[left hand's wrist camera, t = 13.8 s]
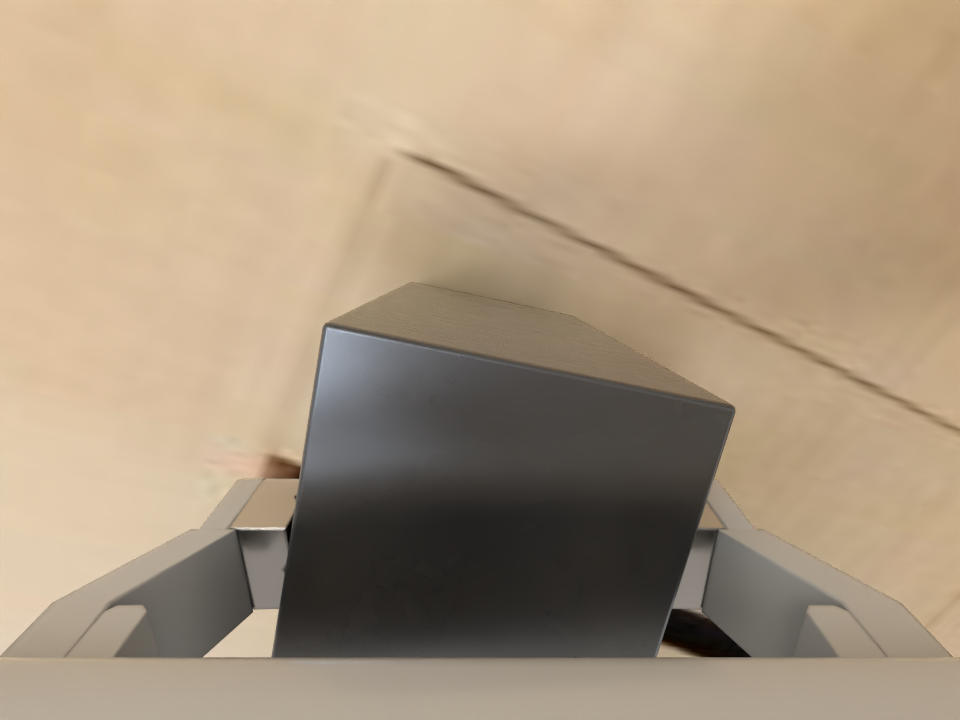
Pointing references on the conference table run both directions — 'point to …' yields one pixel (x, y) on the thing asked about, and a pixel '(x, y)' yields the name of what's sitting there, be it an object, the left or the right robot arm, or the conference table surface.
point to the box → (491, 486)
